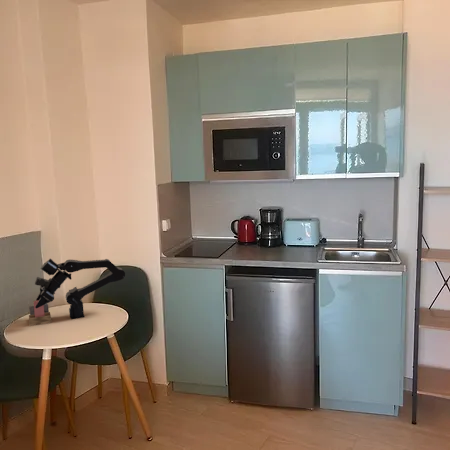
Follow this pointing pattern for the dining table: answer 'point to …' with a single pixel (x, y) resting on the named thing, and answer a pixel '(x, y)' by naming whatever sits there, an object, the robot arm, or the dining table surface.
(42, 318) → the rack
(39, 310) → the red rectangular block
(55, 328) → the dining table surface
